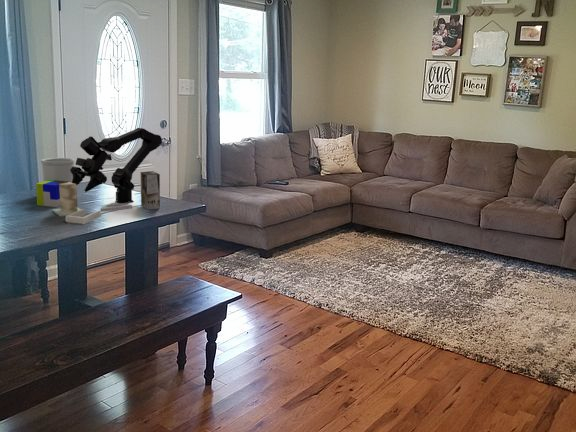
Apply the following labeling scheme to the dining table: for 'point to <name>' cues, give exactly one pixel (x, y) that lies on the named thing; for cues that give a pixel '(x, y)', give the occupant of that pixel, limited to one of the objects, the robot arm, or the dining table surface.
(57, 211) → the mat
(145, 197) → the coffee box
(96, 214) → the channel
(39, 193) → the puzzle toy
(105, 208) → the rod
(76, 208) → the block
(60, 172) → the utensil holder
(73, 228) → the dining table surface
